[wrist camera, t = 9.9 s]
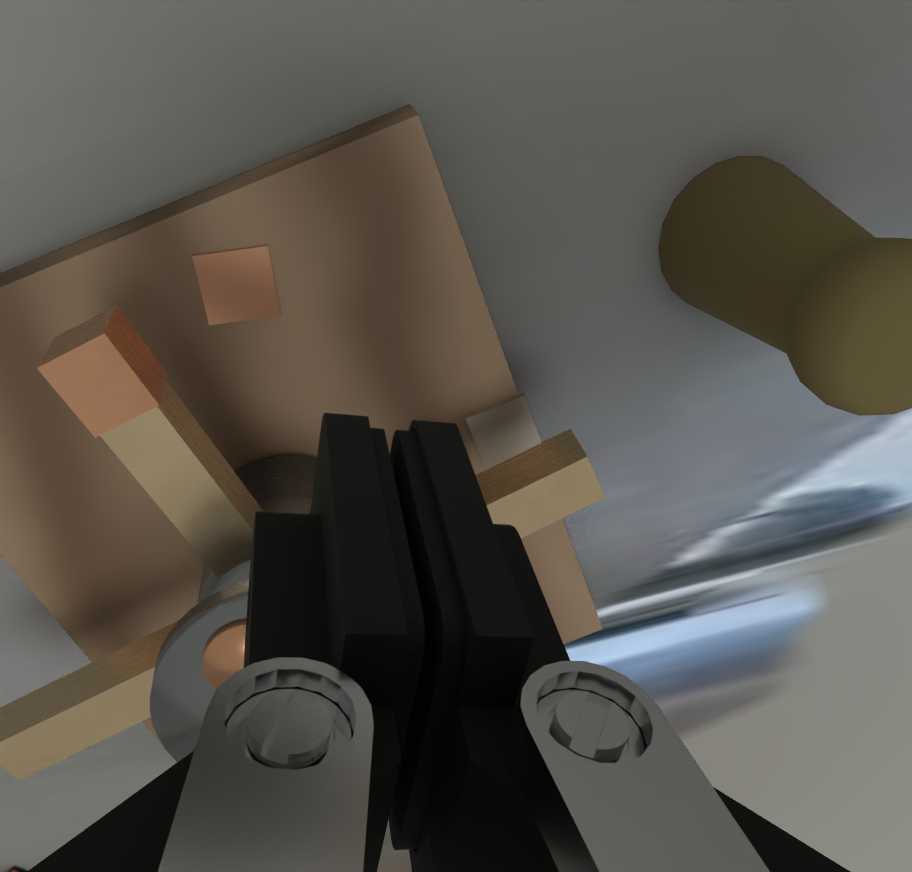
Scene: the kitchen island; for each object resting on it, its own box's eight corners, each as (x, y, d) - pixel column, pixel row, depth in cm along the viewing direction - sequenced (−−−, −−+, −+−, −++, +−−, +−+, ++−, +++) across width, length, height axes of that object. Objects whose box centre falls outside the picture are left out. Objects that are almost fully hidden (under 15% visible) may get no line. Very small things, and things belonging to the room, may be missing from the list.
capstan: (-186, 427, 28) (-379, 630, 19) (418, 112, 26) (484, 187, 18) (199, 792, 39) (179, 1015, 31) (632, 586, 38) (732, 763, 30)
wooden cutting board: (415, 102, 28) (425, 113, 26) (592, 598, 41) (607, 629, 39) (-142, 332, 29) (-171, 358, 27) (204, 754, 41) (200, 792, 39)
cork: (681, 334, 35) (833, 480, 25) (640, 200, 31) (796, 308, 22) (819, 269, 34) (1025, 391, 25) (791, 126, 31) (1015, 205, 22)
